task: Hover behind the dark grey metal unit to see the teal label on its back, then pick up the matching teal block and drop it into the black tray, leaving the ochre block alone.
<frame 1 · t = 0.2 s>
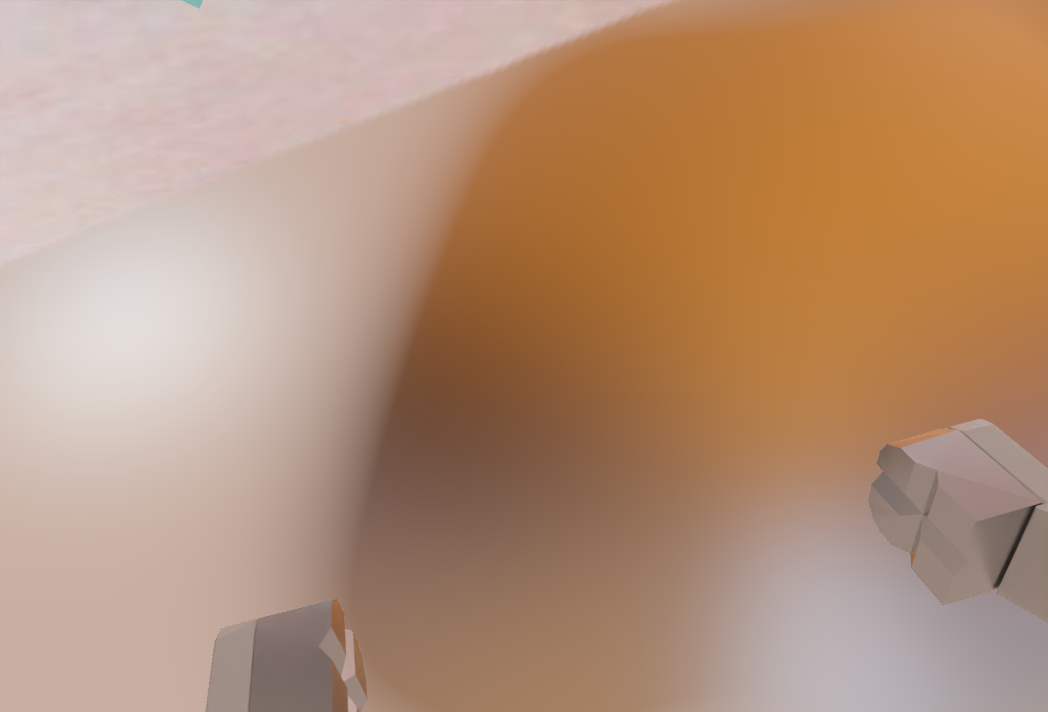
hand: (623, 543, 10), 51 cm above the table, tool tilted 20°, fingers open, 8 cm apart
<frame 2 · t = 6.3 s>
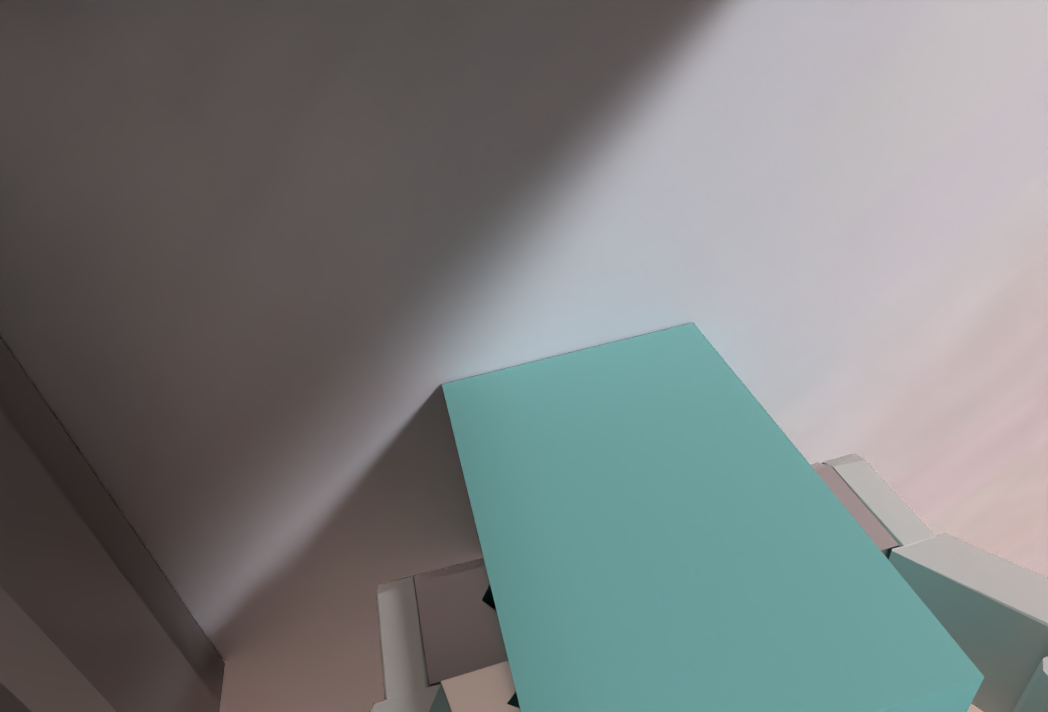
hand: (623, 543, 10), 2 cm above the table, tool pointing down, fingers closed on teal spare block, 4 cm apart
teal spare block: (579, 447, 12), on the table, touching gripper
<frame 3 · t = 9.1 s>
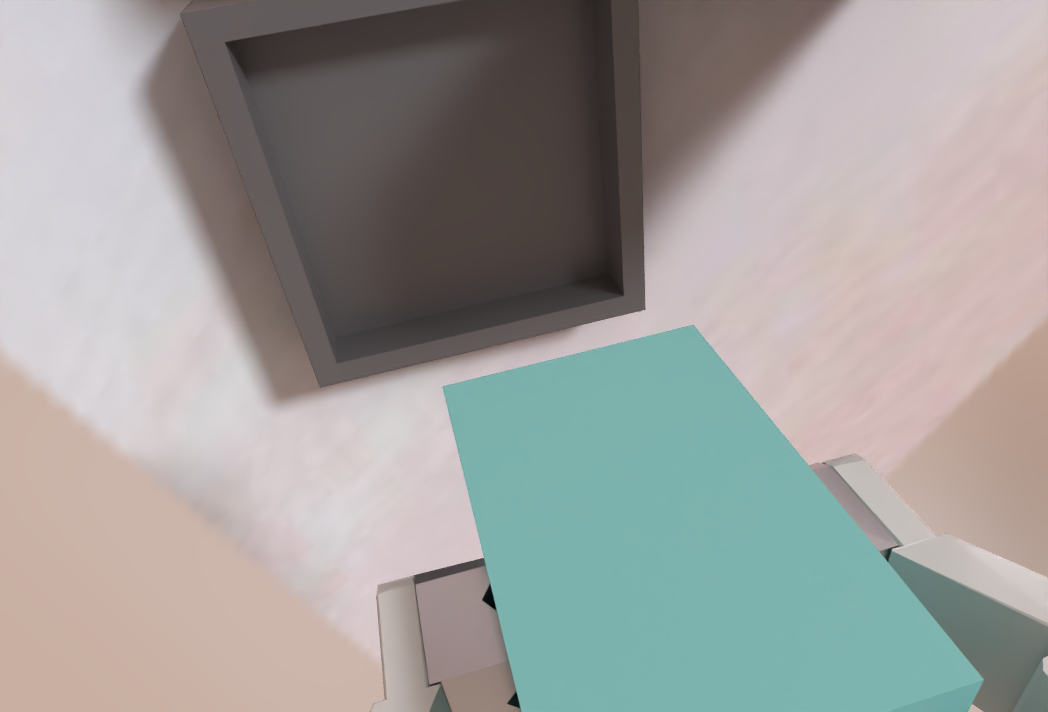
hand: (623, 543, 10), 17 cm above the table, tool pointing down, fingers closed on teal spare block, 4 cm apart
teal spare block: (580, 449, 12), point 15 cm above the table, touching gripper
black tray: (446, 163, 24), on the table
when the fingers open (5 cm above the table, at t = 11.8 s): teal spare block drops 2 cm, resting on black tray.
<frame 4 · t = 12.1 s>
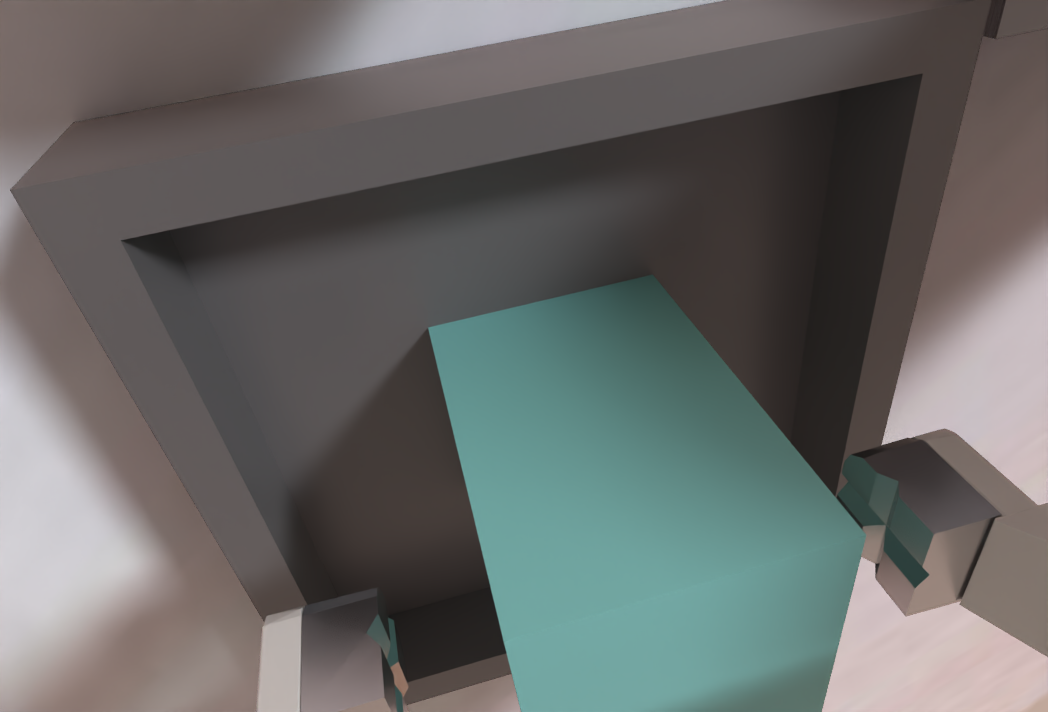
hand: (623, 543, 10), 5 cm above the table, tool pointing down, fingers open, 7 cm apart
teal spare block: (553, 390, 13), point 1 cm above the table, touching black tray
black tray: (542, 365, 14), on the table
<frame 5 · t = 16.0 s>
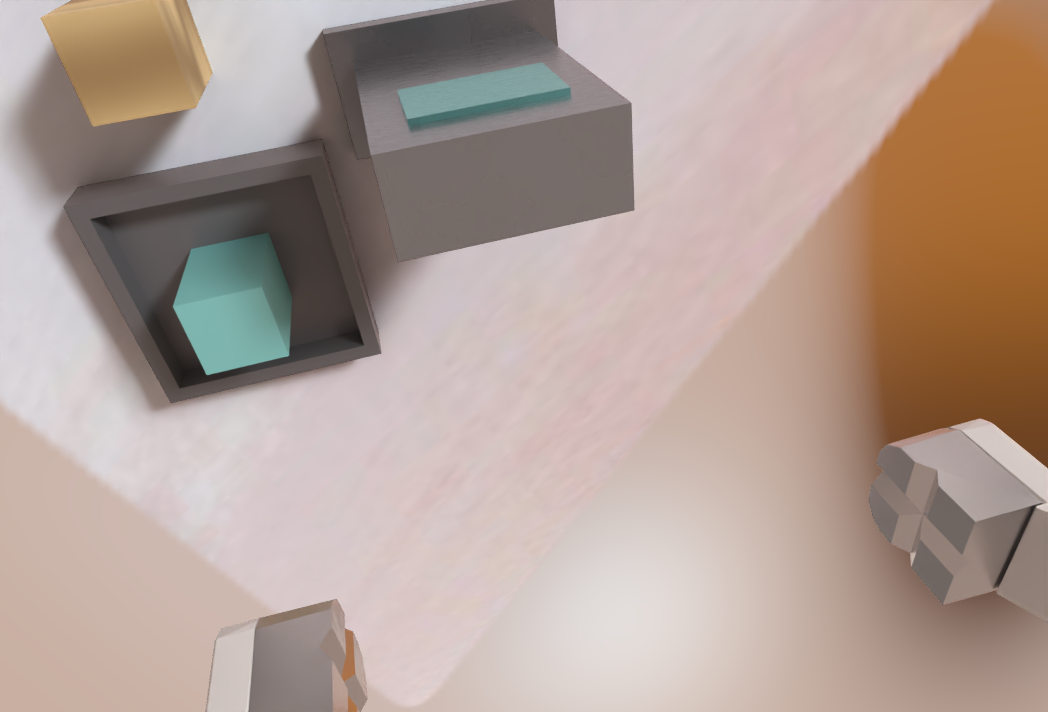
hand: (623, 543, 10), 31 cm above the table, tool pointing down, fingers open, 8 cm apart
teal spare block: (243, 273, 38), point 1 cm above the table, touching black tray
black tray: (244, 266, 39), on the table
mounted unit: (448, 73, 36), on the table
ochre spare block: (150, 34, 32), on the table
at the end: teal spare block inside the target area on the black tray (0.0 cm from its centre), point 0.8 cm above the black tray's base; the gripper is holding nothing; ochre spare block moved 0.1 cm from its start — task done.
